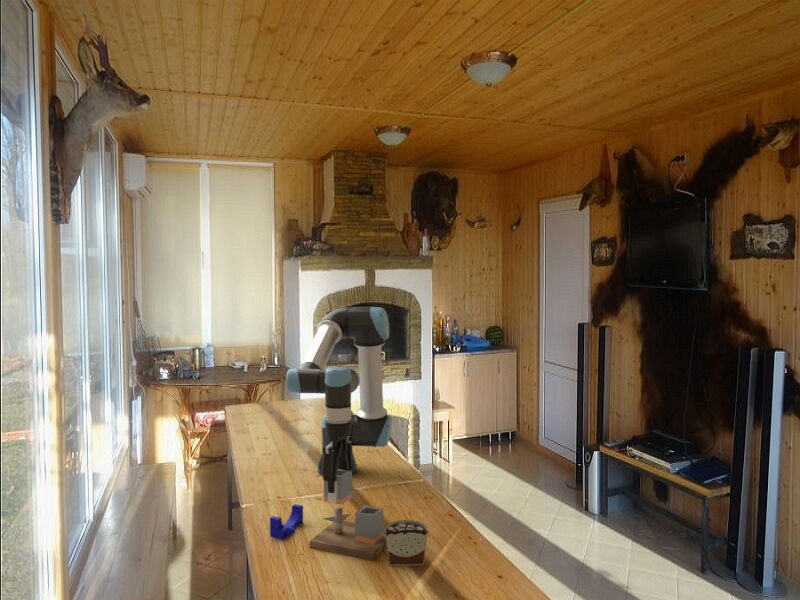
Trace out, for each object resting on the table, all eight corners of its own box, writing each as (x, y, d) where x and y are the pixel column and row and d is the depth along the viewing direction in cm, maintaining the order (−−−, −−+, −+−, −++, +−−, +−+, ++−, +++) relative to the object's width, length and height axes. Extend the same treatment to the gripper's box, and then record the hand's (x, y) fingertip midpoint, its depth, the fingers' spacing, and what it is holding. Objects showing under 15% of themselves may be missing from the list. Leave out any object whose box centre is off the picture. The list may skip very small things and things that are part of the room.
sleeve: (334, 494, 179) (334, 468, 178) (351, 497, 176) (352, 471, 176) (323, 501, 173) (323, 474, 173) (342, 504, 171) (342, 477, 171)
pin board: (337, 525, 185) (336, 497, 185) (396, 536, 177) (396, 507, 177) (309, 547, 170) (309, 516, 170) (373, 560, 162) (373, 528, 162)
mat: (326, 504, 202) (326, 502, 202) (357, 509, 198) (357, 508, 198) (307, 517, 191) (307, 516, 191) (340, 523, 187) (340, 522, 187)
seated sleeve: (364, 532, 176) (364, 505, 175) (383, 535, 173) (383, 508, 173) (355, 540, 170) (355, 513, 170) (374, 544, 168) (374, 516, 167)
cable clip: (282, 540, 175) (282, 520, 175) (270, 537, 177) (270, 517, 177) (306, 525, 186) (306, 506, 186) (295, 522, 188) (295, 503, 188)
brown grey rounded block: (427, 554, 166) (427, 518, 166) (429, 565, 160) (429, 528, 160) (383, 554, 166) (383, 519, 165) (383, 565, 160) (383, 529, 159)
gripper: (342, 412, 184) (342, 487, 185) (309, 426, 167) (310, 508, 168) (364, 415, 181) (364, 490, 182) (333, 429, 164) (333, 512, 165)
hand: (338, 499), depth 175 cm, fingers closed on sleeve, 6 cm apart
